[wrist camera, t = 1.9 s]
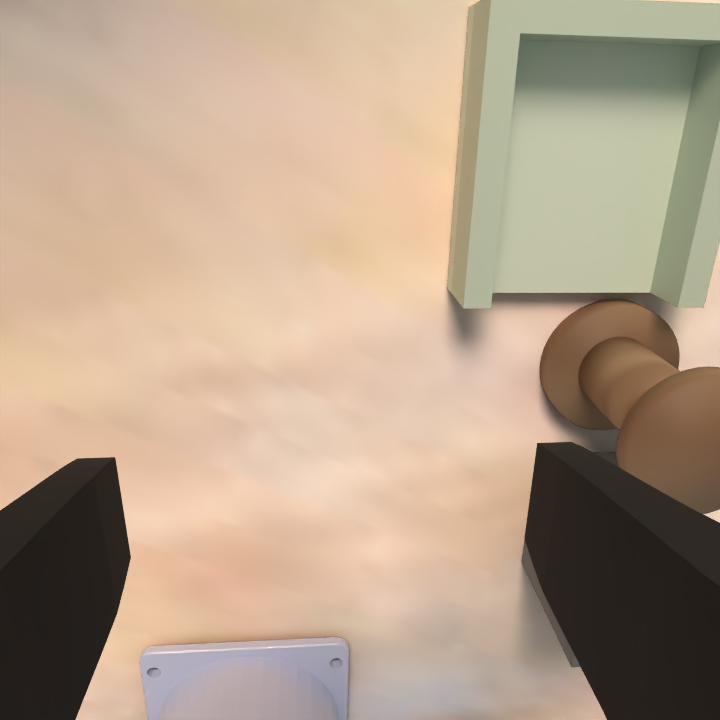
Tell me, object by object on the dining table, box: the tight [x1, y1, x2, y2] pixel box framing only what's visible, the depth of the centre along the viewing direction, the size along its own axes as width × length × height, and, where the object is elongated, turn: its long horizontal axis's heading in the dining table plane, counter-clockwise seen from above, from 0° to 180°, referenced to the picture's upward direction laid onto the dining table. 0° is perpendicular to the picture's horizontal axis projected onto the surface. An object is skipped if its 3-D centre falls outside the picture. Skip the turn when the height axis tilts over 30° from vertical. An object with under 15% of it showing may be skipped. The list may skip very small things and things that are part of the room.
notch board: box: [447, 0, 720, 309], centre depth 18 cm, size 8×7×2 cm
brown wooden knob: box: [540, 299, 720, 514], centre depth 19 cm, size 4×4×6 cm
